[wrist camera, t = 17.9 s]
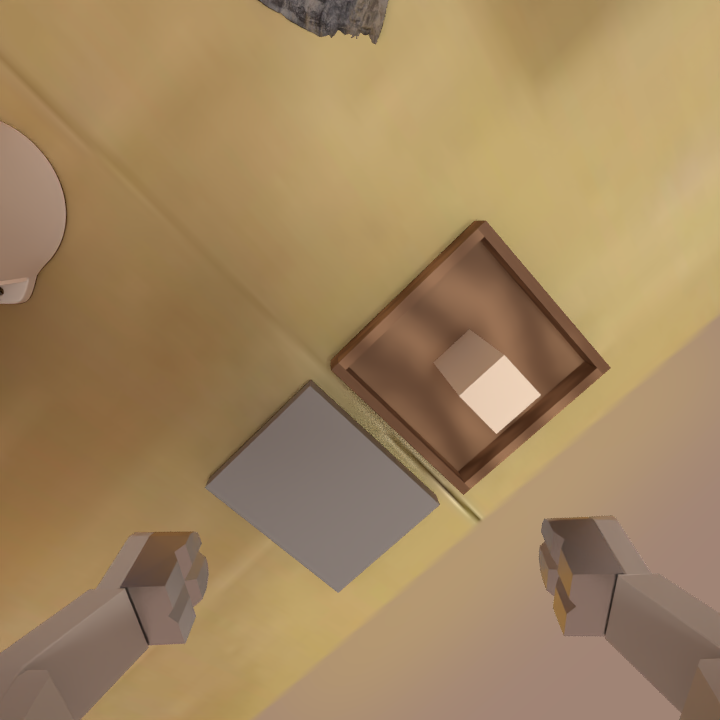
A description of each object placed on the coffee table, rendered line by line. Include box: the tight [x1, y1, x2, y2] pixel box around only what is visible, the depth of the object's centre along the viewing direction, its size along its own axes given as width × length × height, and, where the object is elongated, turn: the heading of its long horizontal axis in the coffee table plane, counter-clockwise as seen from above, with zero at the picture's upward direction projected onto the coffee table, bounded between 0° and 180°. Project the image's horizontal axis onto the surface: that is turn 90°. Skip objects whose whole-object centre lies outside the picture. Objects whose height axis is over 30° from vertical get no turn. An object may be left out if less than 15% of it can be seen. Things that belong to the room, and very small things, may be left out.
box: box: [331, 221, 610, 495], centre depth 49 cm, size 20×20×4 cm
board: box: [205, 380, 440, 592], centre depth 53 cm, size 16×20×2 cm
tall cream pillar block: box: [433, 329, 541, 434], centre depth 45 cm, size 5×5×10 cm
